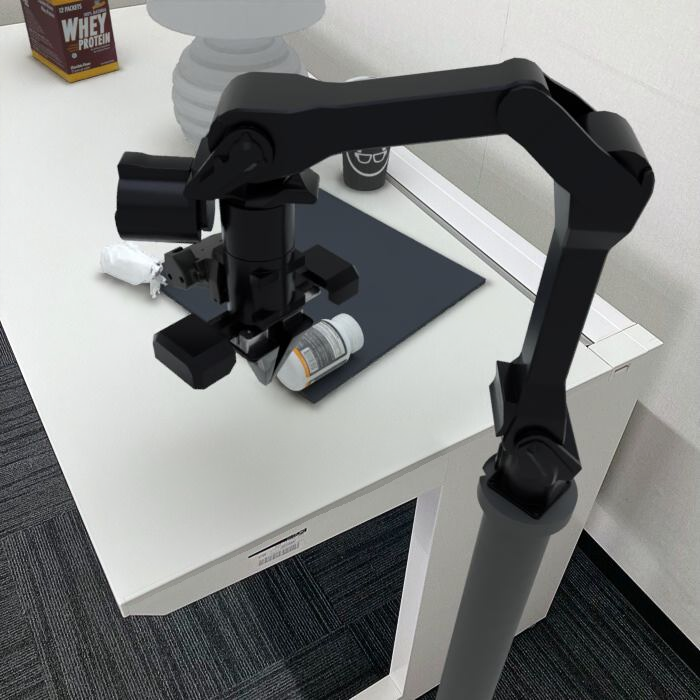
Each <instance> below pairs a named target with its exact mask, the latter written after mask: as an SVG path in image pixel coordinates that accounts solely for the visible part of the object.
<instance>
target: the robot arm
mask: <svg viewBox="0 0 700 700" xmlns="http://www.w3.org/2000/svg"><path fill="white" fill-rule="evenodd" d="M503 135H504V136H505V135H506V136H508V137H509V138H511V139H512V140H513V141H515V143H517V144H518V145H520V146H521V147H522V148H523V149H524V150H525V151H526V152H527V153H528V154H529V156H531V157H532V158H533V159H534V161H535V162H536V163H537V164H538V165H539V166H540V167H541V169H543V171H544V172H545V173H546V174H547V175H548V176H549V177H550V178H551V179H552V181H553V203H554V205H553V207H554V226H553V227H554V228H553V231H552V235H551V238H550V239H551V240H550V243H549V246H548V250H547V254H546V258H545V262H544V264H543V269H542V273H541V276H540V280H539V283H538V288H537V291H536V295H535V297H534V298H535V299H534V303H533V306H532V310H531V313H530V316H529V321H528V324H527V329H526V331H525V337H524V340H523V344H522V347H521V351H520V353H519V355H518V356H517V357H516V358H514V359H512V360H511V361H510V362H509V361H504V360H499V359H498V360H496V361H495V375H494V377H493V379H492V381H491V382H490V384H489V385H488V391H489V399H490V404H491V405H490V406H491V412H492V419H493V426H494V435H495V437H496V438H500V442H499V443H498V448H497V452H496V453H497V456H496V460H495V464H494V470H496V472H495V473H494V474H493V475H492V476H491V477H490V478H489V479H488V480H487V486H488V487H489V488H490V489H492V490H493V491H495V492H496V493H498V494H499V495H500V496H502V497H503V498H505V499H506V500H508V501H509V502H510V503H512V504H513V505H515V506H516V507H517V508H519V509H520V510H522V511H523V512H525V513H526V514H527V515H529V516H530V517H532V518H533V519H535V520H539V519H541V518H542V516H543V515H544V514H545V513H546V512H547V511H548V510H549V509H550V508H551V507H552V506H553V505H554V504H555V503H556V502H557V501H558V500H559V499H560V497H561V496H562V495H563V494H564V493H565V492H566V491H567V490H568V489H569V488H570V486H571V480H572V479H573V478H574V479H575V478H576V476H577V475H578V474H579V473H581V471H582V470H583V467H582V462H581V458H580V454H579V450H578V445H577V441H576V435H575V433H574V428H573V423H572V421H571V416H570V412H569V408H568V402H567V379H568V376H569V374H570V371H571V367H572V365H573V361H574V359H575V355H576V352H577V349H578V347H579V344H580V340H581V337H582V334H583V331H584V327H585V325H586V322H587V319H588V315H589V313H590V310H591V308H592V303H593V301H594V298H595V295H596V291H597V289H598V287H599V286H598V285H599V283H600V279H601V276H602V273H603V270H604V267H605V265H606V261H607V258H608V255H609V253H610V252H611V250H612V248H614V247H616V246H617V244H618V243H620V242H621V241H623V239H625V238H626V237H627V236H628V235H629V234H630V233H632V232H633V230H634V229H635V226H636V225H637V223H638V221H639V220H640V218H641V216H642V214H643V212H644V210H645V209H646V207H647V205H648V204H649V202H650V200H651V198H652V195H653V193H654V189H655V184H656V177H655V172H654V169H653V168H652V165H651V163H650V161H649V159H648V157H647V155H646V153H645V151H644V149H643V147H642V145H641V143H640V141H639V138H638V137H637V135H636V133H635V131H634V129H633V127H632V125H631V124H630V122H629V121H628V120H627V118H624V117H623V116H622V115H620V114H619V113H617V112H614V111H609V110H596V109H595V108H594V107H593V106H592V105H590V103H588V102H587V101H586V100H585V99H584V98H582V96H580V95H579V94H578V93H577V92H575V91H574V90H572V89H571V88H569V87H567V86H565V85H563V84H562V83H561V82H559V81H557V80H555V79H554V78H552V77H550V76H549V75H548V74H546V73H545V71H543V70H542V68H541V67H540V66H539V65H538V64H537V63H536V62H535V61H533V60H530V59H528V58H525V57H511V58H509V59H506V60H504V61H502V62H500V63H494V64H486V65H478V66H468V67H461V68H460V67H459V68H451V69H444V70H436V71H435V70H434V71H427V72H419V73H410V74H402V75H401V74H400V75H395V76H387V77H386V76H385V77H379V78H376V79H368V80H360V81H352V82H345V81H344V82H336V81H324V80H319V79H316V78H313V77H310V76H309V77H306V76H303V75H299V74H293V73H273V72H248V73H245V74H241V75H238V76H236V77H235V78H233V79H232V80H231V81H230V83H229V84H228V85H227V86H226V88H225V89H224V91H223V92H222V94H221V97H220V100H219V103H218V105H217V108H216V111H215V114H214V117H213V120H212V123H211V126H210V129H209V131H208V133H207V134H206V135H205V137H203V138H202V139H201V141H200V144H199V147H198V150H197V149H196V153H195V155H194V156H176V155H174V156H173V155H159V154H155V155H154V154H148V153H145V152H142V151H141V152H140V151H130V150H129V151H128V150H127V151H124V152H123V153H122V155H121V157H120V159H119V161H118V162H117V165H116V169H117V174H118V181H117V187H116V205H115V206H116V207H115V208H116V210H115V213H114V222H115V227H116V231H117V234H118V236H119V238H120V239H121V240H122V241H124V242H125V241H131V242H147V243H148V242H149V243H164V244H167V243H168V244H183V245H184V244H185V245H186V244H188V246H185V247H183V246H180V245H179V246H177V247H175V248H173V249H171V250H169V251H166V252H165V253H164V254H163V260H164V262H165V271H166V274H167V277H168V280H169V282H170V283H171V284H172V286H174V287H177V288H181V289H184V290H188V289H190V288H192V287H196V286H198V287H201V288H205V289H209V290H210V297H211V300H213V301H214V302H216V303H217V304H218V305H221V304H223V303H225V304H226V305H228V310H227V311H225V312H223V313H222V314H220V315H218V316H216V317H214V318H213V319H211V320H209V321H207V322H205V321H204V320H202V319H201V318H200V317H198V316H197V315H195V314H194V313H191V312H190V314H188V315H186V316H184V317H182V318H181V319H179V320H177V321H175V322H173V323H171V324H170V325H168V326H166V327H164V328H162V329H160V330H159V331H157V332H155V333H153V337H152V338H153V339H152V347H153V353H154V358H155V359H156V360H157V361H158V362H160V364H162V365H163V366H164V367H165V368H167V369H168V370H170V371H171V372H172V373H173V374H174V375H176V377H178V378H179V379H181V380H182V381H183V382H184V383H185V384H186V385H188V386H189V387H190V388H191V389H192V390H195V391H196V390H201V391H202V390H203V391H204V390H206V389H207V388H209V387H211V386H212V385H214V384H215V383H217V382H220V381H221V380H222V379H225V377H227V376H229V375H230V374H231V373H232V370H233V368H234V367H235V366H236V364H237V354H238V355H239V356H240V357H242V358H243V359H244V360H246V362H247V364H248V365H249V367H250V369H251V371H252V372H253V374H254V376H255V377H256V379H257V381H258V382H259V383H260V384H262V385H263V386H265V387H266V386H268V385H269V384H271V383H272V382H273V381H274V380H275V378H276V377H277V376H276V375H277V374H278V372H279V371H280V369H281V368H282V366H283V364H284V363H285V361H286V360H287V358H288V357H289V356H290V354H291V353H292V351H293V350H294V348H295V347H296V346H297V344H298V343H299V342H300V340H301V339H302V338H303V336H304V335H305V333H306V332H307V331H308V330H309V329H311V328H312V327H313V325H314V321H313V319H312V318H310V317H309V316H307V315H306V314H304V313H303V308H302V306H304V305H306V302H307V301H309V300H310V299H312V298H314V297H315V296H317V295H319V294H320V288H319V287H322V288H324V289H325V290H327V291H328V300H329V301H331V302H332V303H334V304H336V305H338V306H339V305H341V304H342V303H344V302H345V301H347V300H349V299H350V298H352V297H353V296H355V295H357V294H358V290H359V273H358V272H357V270H356V268H355V266H354V265H352V264H350V263H349V262H347V261H345V260H344V259H342V258H340V257H339V256H337V255H335V254H334V253H332V252H330V251H329V250H327V249H325V248H324V247H322V246H320V245H319V244H317V245H315V246H313V247H311V248H309V249H308V250H306V251H304V252H300V251H299V250H297V249H295V204H307V205H314V204H316V202H317V199H318V190H319V188H320V181H321V177H320V175H319V174H318V173H317V172H316V171H314V170H313V169H312V167H314V166H316V165H318V164H320V163H322V162H323V161H325V160H326V159H329V158H331V157H334V156H338V155H342V153H345V152H351V151H360V150H369V149H378V148H387V147H391V148H394V147H395V148H396V147H404V146H405V147H406V146H414V145H423V144H432V143H440V142H451V141H457V140H466V139H467V140H468V139H477V138H486V137H493V136H494V137H495V136H503ZM216 200H218V207H219V220H220V231H221V232H217V233H213V234H211V235H208V236H206V237H204V238H202V235H203V234H202V233H203V232H207V233H208V232H209V233H211V232H212V231H213V228H214V226H215V219H216V217H215V216H216ZM202 231H203V232H202ZM490 482H492V483H493V484H491V483H490ZM566 483H567V484H566ZM535 514H538V515H535Z"/></svg>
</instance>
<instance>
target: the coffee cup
mask: <svg viewBox="0 0 700 700" xmlns="http://www.w3.org/2000/svg"><path fill="white" fill-rule="evenodd" d="M376 78H380V77H379V76H372V75H371V76H370V75H362V76H355V77H351V78H349V79H347V80H345V81H344V82H352V81H360V80H368V79H376ZM391 148H392V147H387V148H378V149H369V150H360V151H351V152H345V153H341V157H342V158H341V159H342V178H343V182H344V183H345V185H346V186H348V187H349V188H351V189H353V190H357V191H365V192H367V191H368V192H369V191H374V190H378V189H380V188H381V187H383V186H384V184H385V183H386V177H387V172H388V165H389V159H390V153H391Z"/></svg>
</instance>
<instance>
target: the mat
mask: <svg viewBox="0 0 700 700" xmlns="http://www.w3.org/2000/svg"><path fill="white" fill-rule="evenodd" d="M317 244H319V245H320V246H322V247H324V248H325V249H327V250H329V251H330V252H332V253H334V254H335V255H337V256H339V257H340V258H342V259H344V260H345V261H347V262H349V263H350V264H352V265H354V266H355V268H356V270H357V272H358V273H359V290H358V294H357V295H355V296H353V297H352V298H350V299H349V300H347V301H345V302H344V303H342V304H341V305H339V306H338V305H336V304H334V303H332V302H331V301H329V300H328V291H327V290H325V289H324V288H322V287H319V288H320V294H319V295H317V296H315V297H314V298H312V299H310V300H309V301H307V302H306V305H304V306H302V308H303V313H304V314H306V315H307V316H309V317H310V318H312V319H313V321H314V323H315V322H317V321H319V320H322V319H328V320H332V318H334V317H336V316H337V315H339V314H347V315H349V316H351V317H352V318H353V319H354V320H355V321H356V322H357V323H358V325H359V326H360V328H361V330H362V333H363V337H364V343H363V346H362V347H361V348H360V349H359V350H358V351H356V352H354V353H352V354H350V356H349V359H348V360H347V362H346V363H344V364H343V365H341V366H340V367H338V368H337V369H335V370H333V371H332V372H330V373H328V374H327V375H325V376H323V377H322V378H320V379H318V380H317V381H315V382H313V383H312V384H310V385H309V386H307V387H305V388H303V389H302V390H299V391H297V392H298V393H299V394H301V396H303V397H304V398H306V399H307V400H308V401H310V402H311V403H313V404H316V403H317V402H319V401H321V400H322V399H323V398H325V397H326V396H327V395H329V394H330V393H332V392H333V391H334V390H335V389H337V388H339V387H340V386H341V385H342V384H344V383H346V382H347V381H348V380H349V379H352V378H353V377H354V376H355V375H357V374H358V373H359V372H361V371H362V370H364V369H366V368H367V367H368V366H370V365H371V364H373V363H374V362H375V361H376V360H378V359H379V358H380V357H382V356H384V355H385V354H386V353H388V352H389V351H391V350H392V349H393V348H395V347H397V345H399V344H401V343H402V342H404V341H405V340H406V339H408V338H409V337H410V336H412V335H413V334H415V333H416V332H417V331H419V330H420V329H422V328H423V327H424V326H426V325H428V324H430V322H431V321H433V320H434V319H436V318H437V317H439V316H440V315H441V314H443V313H445V312H446V311H447V310H448V309H450V308H452V307H453V306H454V305H456V304H457V303H459V302H460V301H461V300H462V299H464V298H465V297H467V296H468V295H470V294H471V293H473V292H474V291H475V290H477V289H478V288H479V287H481V286H482V285H484V284H485V283H487V282H486V281H487V278H485V277H483V276H482V275H480V274H478V273H477V272H474V271H473V270H471V269H469V268H467V267H465V266H464V265H462V264H460V263H458V262H457V261H454V260H452V259H450V258H449V257H447V256H445V255H443V254H441V253H439V252H437V251H436V250H434V249H432V248H430V247H428V246H427V245H425V244H424V243H422V242H419V241H418V240H416V239H414V238H412V237H411V236H409V235H407V234H405V233H403V232H401V231H399V230H398V229H396V228H394V227H392V226H390V225H388V224H386V223H384V222H383V221H381V220H379V219H377V218H376V217H373V216H372V215H370V214H368V213H366V212H365V211H362V210H361V209H359V208H357V207H355V206H353V204H352V205H351V204H350V203H348V202H347V201H344V200H342V199H341V198H339V197H337V196H335V195H333V194H332V193H330V192H328V191H326V190H324V189H322V188H320V187H319V190H318V199H317V202H316V204H314V205H307V204H295V249H297V250H299V251H300V252H304V251H306V250H308V249H309V248H311V247H313V246H315V245H317ZM161 265H162V266H163V270H162V272H161V273H160V275H161V276H163V277H164V278H165V279H166V281H165V283H166V284H167V285H164V284H161V283H160V289H159V291H160V292H162V293H164V295H166V296H168V297H169V298H170V299H172V300H173V301H174V302H176V303H177V304H178V305H180V306H182V307H183V309H185V310H187V311H188V312H189V313H190V314H191V313H194V314H195V315H197V316H198V317H200V318H201V319H202V320H204V321H205V322H207V321H209V320H211V319H213V318H214V317H216V316H218V315H220V314H222V313H223V312H225V311H227V310H228V305H226V304H225V303H223V304H221V305H218V304H217V303H216V302H214V301H213V300H211V297H210V290H209V289H205V288H201V287H198V286H196V287H192V288H190V289H188V290H184V289H181V288H177V287H174V286H172V284H171V283H170V282H169V280H168V277H167V274H166V271H165V261H164V262H161ZM276 377H277V375H276Z"/></svg>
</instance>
